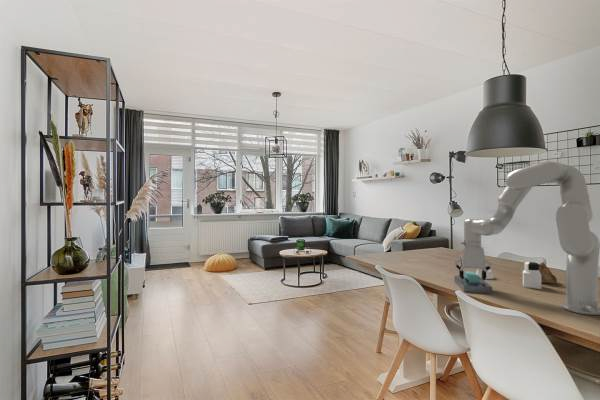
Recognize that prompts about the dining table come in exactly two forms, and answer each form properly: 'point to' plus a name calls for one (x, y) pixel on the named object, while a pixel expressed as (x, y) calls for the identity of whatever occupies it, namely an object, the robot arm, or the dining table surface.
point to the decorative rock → (546, 274)
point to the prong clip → (471, 277)
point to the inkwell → (488, 274)
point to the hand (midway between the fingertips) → (472, 279)
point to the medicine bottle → (532, 275)
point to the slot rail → (473, 285)
